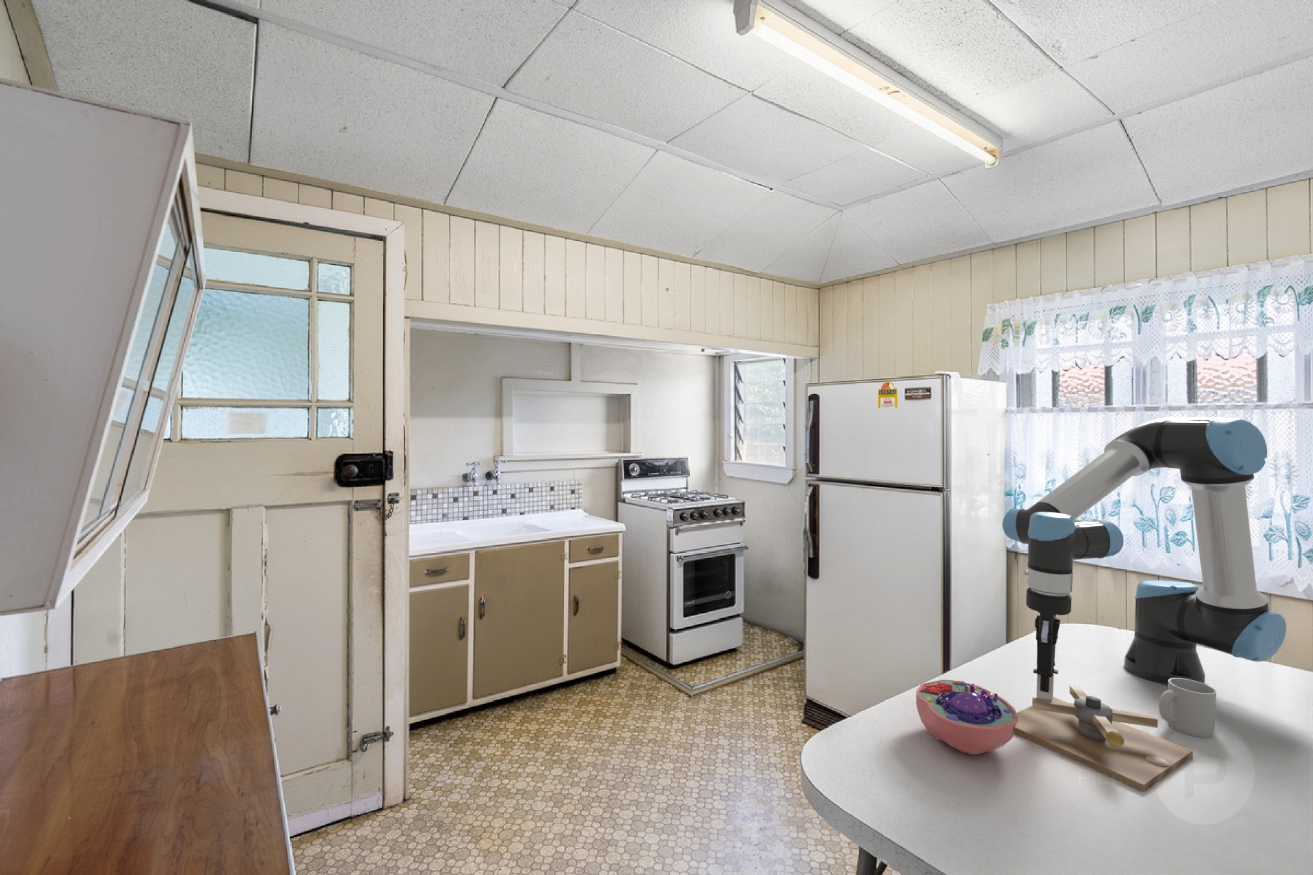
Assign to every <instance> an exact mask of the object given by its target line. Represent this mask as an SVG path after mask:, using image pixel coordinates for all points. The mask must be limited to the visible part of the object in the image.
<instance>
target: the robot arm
mask: <svg viewBox="0 0 1313 875" xmlns="http://www.w3.org/2000/svg"><path fill="white" fill-rule="evenodd" d="M1267 447H1268V445H1267V442H1266V440H1265V436H1264V435H1263V432H1262V431H1261V430H1260V429H1259V427H1257V426H1256V425H1254V424H1253V423H1252V422H1250V421H1248V420H1245V419H1242V418H1226V417H1222V416H1219V417H1163V418H1158V419H1153V420H1150V421H1147V422H1145V423H1142V424H1139V425H1137V426H1135V427H1133V428H1130V429H1129V430H1127V431H1125V432H1123V433H1121V434H1120V435H1118V436H1117V437H1115V438H1114V439H1112V440H1111V441H1110V442H1109V443H1107V444H1106V445H1105V447H1104V449H1103V453H1101V454H1100V455H1099V456H1097V457H1096V458H1095V459H1093V460H1092V461H1091V462H1090V463H1088V464H1086V465H1085V466H1084V467H1083V468H1081V469H1080V470H1079V471H1077V472H1076V473H1075V474H1073V475H1072V476H1070V477H1069V478H1068V479H1066V480H1065V481H1064V482H1062V483H1061V484H1060V485H1058V486H1057V487H1055V489H1053V490H1051V491H1050V492H1049V493H1047V494H1046V495H1045V496H1043V497H1042V498H1041V499H1040V500H1038V501H1037V502H1036V503H1035V504H1033V505H1031V506H1030V507H1029V508H1027V509H1025V508H1023V507H1022V508H1012V509H1010V510H1008V511H1007V512H1006V513H1005V515H1004V516H1003V519H1002V523H1001V524H1002V529H1003V533H1004V534H1005V535H1006V537H1007V538H1008V539H1010V540H1013V541H1016V542H1019V543H1021V544H1024V545H1027V546H1028V547H1027V570H1024V571H1023V575H1024V576H1027V579H1026V584H1027V586H1028V587H1027V589H1026V590H1025V591H1026V593H1025V595H1026V596H1025V605H1026V607H1027V608H1029V609H1030V610H1032V611H1036V612H1037V613H1039V614H1036V618H1035V620H1034V627H1035V639H1036V668H1033V669H1032V672H1033V674H1036V677H1037V678H1036V693H1035V694H1036V696H1035V698H1040V699H1047V700H1053V697H1054V682H1055V681H1054V678H1055V675H1059V669H1055V667H1056V659H1055V658H1056V645H1057V643H1058V638H1059V630H1060V627H1061V619H1060V618H1058V617H1057V616H1066V615H1070V614H1071V612H1072V600H1073V598H1072V594H1070V593H1072V592H1073V584H1074V583H1073V582H1074V581H1073V579H1074V572H1073V568H1074V567H1073V565H1074V561H1076V560H1078V561H1079V560H1089V559H1090V560H1091V559H1098V560H1099V559H1105V558H1108V557H1113V556H1115V555H1117V554H1119V553H1120V552H1121V551H1122V548H1123V546H1124V542H1125V541H1124V535H1123V533H1122V531H1121V529H1120V528H1119V527H1118V526H1117V525H1116V524H1115V523H1113V522H1111V521H1109V520H1099V519H1093V520H1086V519H1085V520H1084V519H1078V518H1080V516H1082V515H1083V514H1085V513H1086V512H1088V511H1089V510H1090V509H1092V508H1093V507H1094V506H1095V505H1096V504H1098V503H1099V502H1100V501H1101V500H1103V499H1104V498H1106V497H1107V496H1108V495H1109V494H1111V493H1113V491H1114V490H1116V489H1117V488H1119V487H1120V486H1121V485H1123V484H1124V483H1125V482H1126V481H1128V480H1129V479H1130V478H1133V477H1138V476H1142V475H1144V474H1145V473H1146V472H1148V471H1150V470H1152V469H1158V468H1159V469H1160V468H1161V469H1162V468H1168V469H1179V473H1180V481H1181V482H1183V484H1186V485H1187V486H1189V487H1190V489H1191V496H1192V497H1191V498H1192V505H1193V513H1194V521H1195V530H1196V540H1197V546H1198V555H1199V561H1200V562H1199V564H1200V572H1201V578H1202V587H1201V588H1200V587H1199V585H1198V584H1194V583H1190V582H1183V581H1175V580H1145V581H1141V582H1139V583H1138V584H1137V586H1136V592H1135V596H1134V599H1135V606H1134V607H1135V609H1134V612H1135V613H1134V635H1133V636H1134V637H1133V639H1132V641H1131V643H1130V646H1129V647H1128V649H1127V651H1126V654H1125V655H1124V660H1123V661H1124V664H1123V665H1124V668H1125V669H1126V670H1127V671H1129V673H1132V674H1134V675H1136V676H1138V677H1141V678H1144V679H1146V680H1149V681H1151V682H1155V683H1157V684H1158V683H1159V684H1163V685H1167V686H1168V680H1169V679H1171V678H1183V679H1189V680H1193V681H1197V682H1200V683H1203V684H1206V680H1205V679H1206V673H1205V670H1204V668H1203V665H1202V662H1201V660H1200V657H1199V654H1198V651H1197V645H1199V646H1204V647H1206V648H1209V649H1212V650H1215V651H1219V652H1221V653H1223V654H1227V655H1230V656H1232V657H1235V658H1238V659H1239V658H1241V659H1244V660H1248V661H1252V662H1255V663H1257V662H1258V663H1259V662H1264V661H1267V660H1269V659H1271V658H1272V657H1274V655H1276V654H1277V652H1278V651H1279V650H1280V648H1281V647H1282V645H1283V643H1284V641H1285V637H1286V633H1287V622H1286V620H1285V618H1284V617H1283V615H1282V614H1281V613H1279V612H1277V611H1275V610H1270V609H1269V601H1268V597H1267V596H1266V595H1265V594H1264V593H1262V592H1260V591H1259V590H1258V589H1257V580H1256V573H1255V563H1254V553H1253V546H1252V537H1251V536H1252V535H1251V528H1250V518H1249V509H1248V501H1247V491H1246V485H1247V486H1248V484H1249V483H1251V482H1252V481H1254V479H1255V476H1254V475H1255V474H1257V473H1259V472H1260V471H1261V470H1262V469H1263V468H1264V466H1265V465H1266V459H1267V457H1268V448H1267Z"/></svg>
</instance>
